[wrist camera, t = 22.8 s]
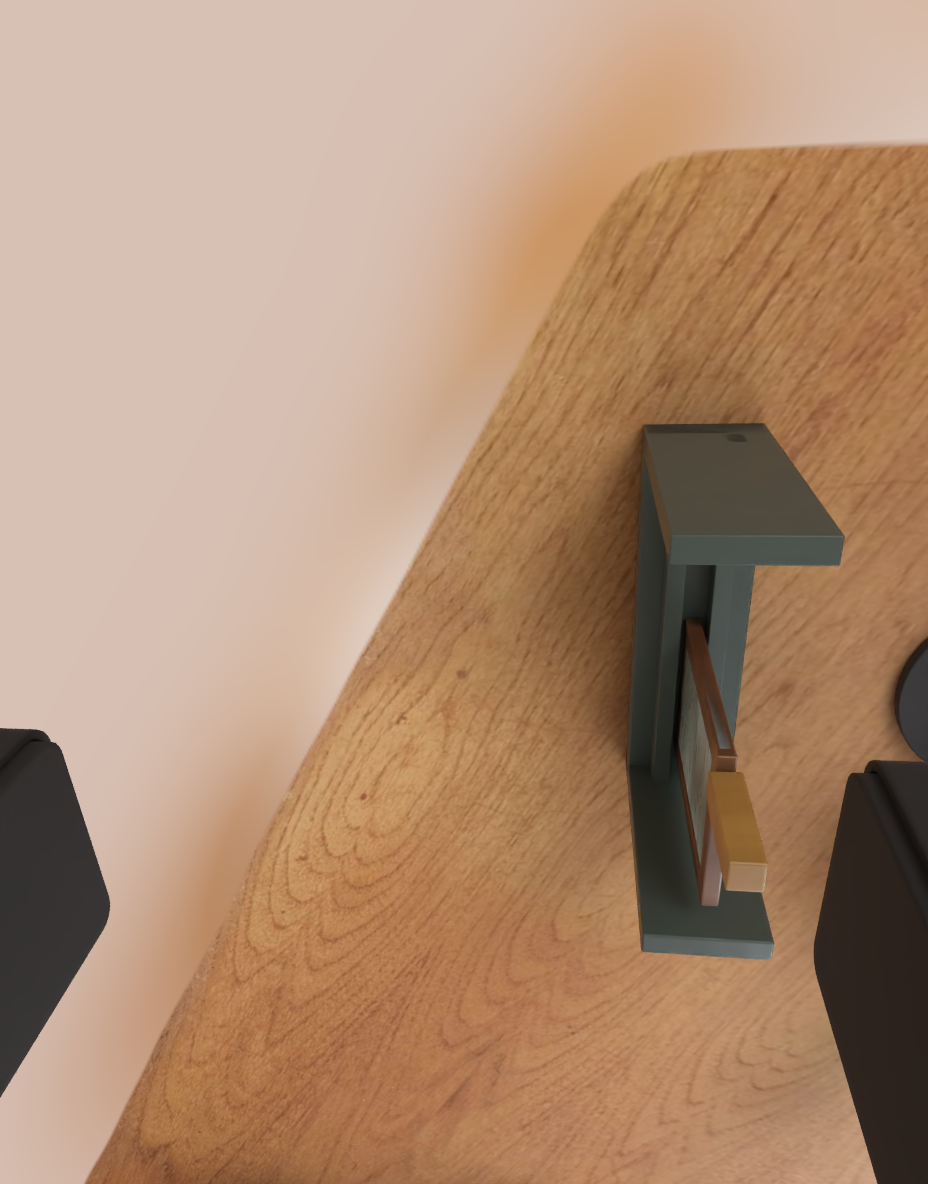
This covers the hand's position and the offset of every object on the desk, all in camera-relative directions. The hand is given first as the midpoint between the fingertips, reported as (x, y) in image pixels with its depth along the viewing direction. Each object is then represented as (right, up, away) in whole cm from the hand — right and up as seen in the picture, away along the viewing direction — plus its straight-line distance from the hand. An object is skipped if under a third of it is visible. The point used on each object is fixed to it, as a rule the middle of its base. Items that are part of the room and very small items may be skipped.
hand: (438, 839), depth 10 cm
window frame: (+11, +2, +29) cm, 32 cm away
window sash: (+11, -1, +30) cm, 31 cm away
